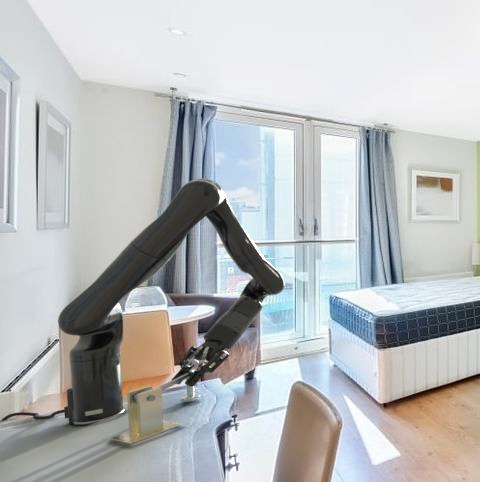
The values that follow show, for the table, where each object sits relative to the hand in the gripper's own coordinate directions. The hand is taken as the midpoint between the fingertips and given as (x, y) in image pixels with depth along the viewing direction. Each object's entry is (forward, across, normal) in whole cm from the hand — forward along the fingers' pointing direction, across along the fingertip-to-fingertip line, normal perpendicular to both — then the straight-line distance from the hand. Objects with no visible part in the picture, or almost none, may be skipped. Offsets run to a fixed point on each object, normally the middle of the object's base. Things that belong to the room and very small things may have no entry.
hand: (181, 383), depth 115 cm
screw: (+2, -12, +13) cm, 18 cm away
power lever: (+2, 0, -2) cm, 3 cm away
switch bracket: (+13, 0, +2) cm, 13 cm away
